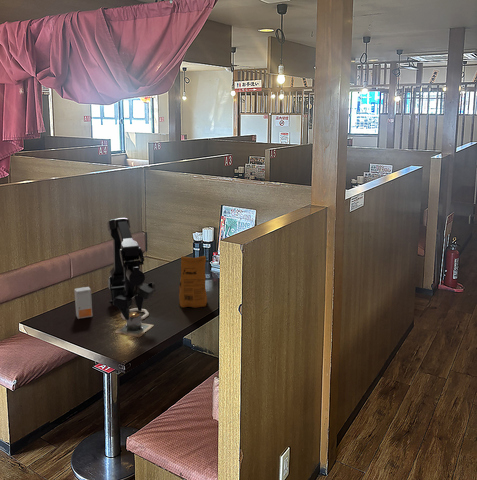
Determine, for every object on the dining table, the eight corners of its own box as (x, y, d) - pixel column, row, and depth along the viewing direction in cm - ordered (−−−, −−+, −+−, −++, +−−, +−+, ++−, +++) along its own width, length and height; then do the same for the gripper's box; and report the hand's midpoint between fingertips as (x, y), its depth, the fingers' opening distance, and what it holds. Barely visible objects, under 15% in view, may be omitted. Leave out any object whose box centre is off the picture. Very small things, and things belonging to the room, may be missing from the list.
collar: (116, 318, 210) (116, 316, 210) (130, 308, 220) (130, 307, 220) (139, 322, 206) (139, 320, 206) (152, 312, 216) (152, 310, 216)
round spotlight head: (138, 332, 196) (138, 318, 195) (122, 329, 199) (121, 315, 197) (146, 326, 201) (145, 312, 200) (130, 324, 204) (129, 310, 202)
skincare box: (78, 319, 209) (75, 291, 206) (76, 315, 213) (73, 288, 209) (93, 316, 212) (91, 289, 209) (90, 313, 215) (89, 286, 212)
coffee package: (180, 299, 231) (178, 253, 225) (207, 299, 231) (207, 253, 225) (177, 308, 221) (176, 259, 215) (206, 308, 221) (206, 259, 216)
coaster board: (114, 332, 197) (114, 331, 197) (129, 321, 207) (129, 320, 207) (139, 337, 193) (139, 336, 193) (153, 325, 203) (153, 324, 203)
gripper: (137, 287, 183) (139, 328, 187) (162, 272, 200) (163, 309, 204) (110, 284, 187) (113, 323, 191) (137, 269, 204) (139, 305, 208)
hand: (133, 315), depth 198 cm, fingers open, 9 cm apart
